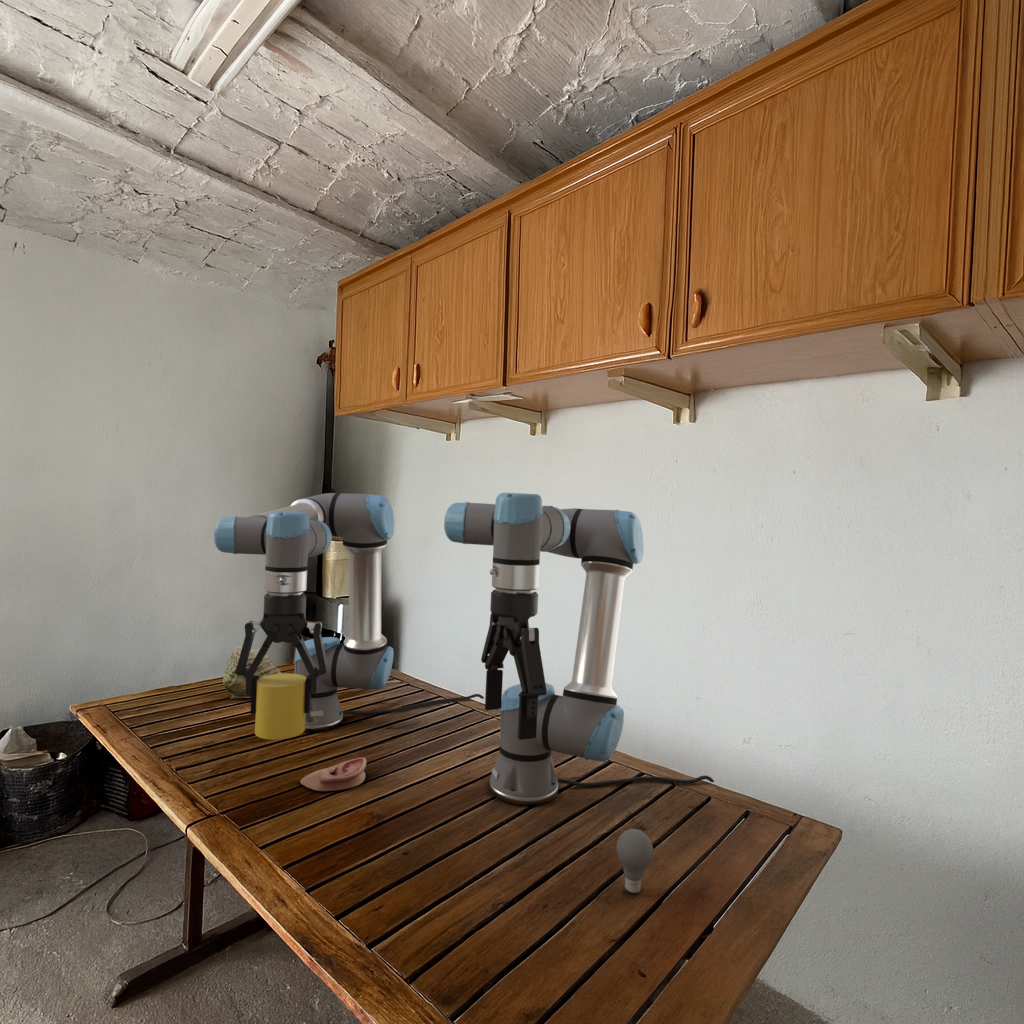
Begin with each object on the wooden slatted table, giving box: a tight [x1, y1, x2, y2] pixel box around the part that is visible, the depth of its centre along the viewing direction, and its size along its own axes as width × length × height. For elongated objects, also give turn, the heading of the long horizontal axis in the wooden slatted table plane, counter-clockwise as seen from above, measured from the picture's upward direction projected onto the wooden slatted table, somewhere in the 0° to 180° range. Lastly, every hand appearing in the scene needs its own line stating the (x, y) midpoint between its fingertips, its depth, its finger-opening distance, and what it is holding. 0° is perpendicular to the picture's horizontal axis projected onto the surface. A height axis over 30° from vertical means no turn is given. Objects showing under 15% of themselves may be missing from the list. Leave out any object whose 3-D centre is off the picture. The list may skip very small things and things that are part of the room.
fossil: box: [222, 646, 283, 699], centre depth 198 cm, size 9×18×15 cm, turn 132°
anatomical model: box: [299, 756, 367, 792], centre depth 141 cm, size 13×4×12 cm
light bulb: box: [615, 828, 654, 894], centre depth 106 cm, size 6×6×10 cm
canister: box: [254, 672, 306, 741], centre depth 120 cm, size 9×9×10 cm
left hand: (281, 711), depth 120 cm, fingers closed on canister, 9 cm apart
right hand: (508, 722), depth 101 cm, fingers open, 13 cm apart
